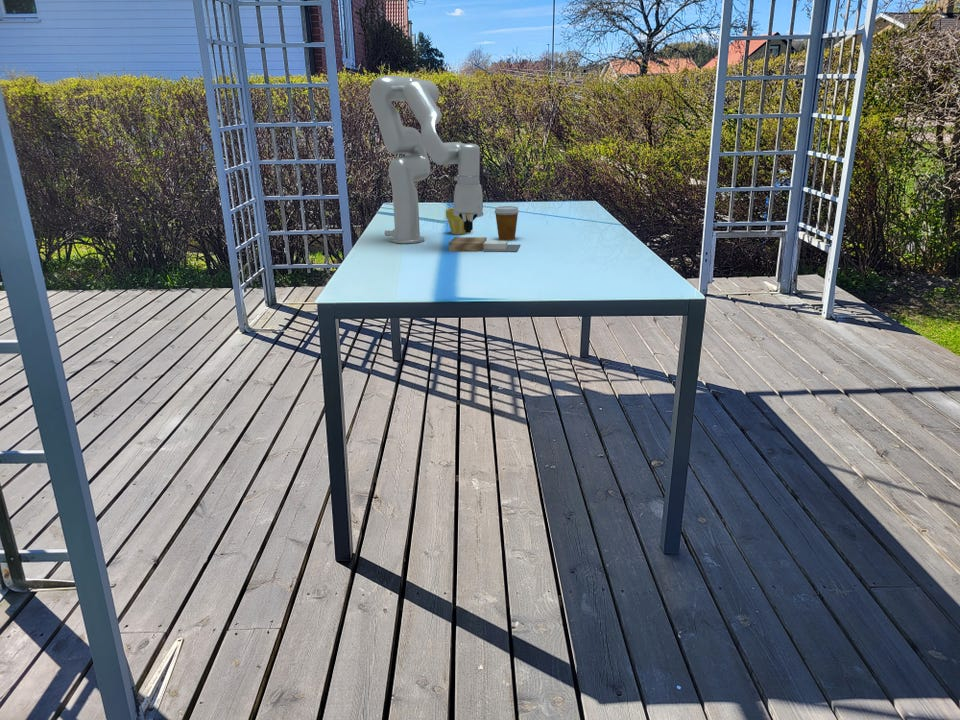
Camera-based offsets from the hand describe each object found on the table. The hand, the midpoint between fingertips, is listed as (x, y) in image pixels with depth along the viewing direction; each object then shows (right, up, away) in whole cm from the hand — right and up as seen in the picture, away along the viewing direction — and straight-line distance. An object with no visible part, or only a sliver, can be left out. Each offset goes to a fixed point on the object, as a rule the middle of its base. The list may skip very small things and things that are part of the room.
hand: (468, 232), depth 257 cm
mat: (+12, -6, 0) cm, 14 cm away
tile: (+10, -6, 0) cm, 11 cm away
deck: (0, -6, +1) cm, 6 cm away
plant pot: (-4, +5, +34) cm, 34 cm away
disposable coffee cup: (+15, +1, +18) cm, 24 cm away
